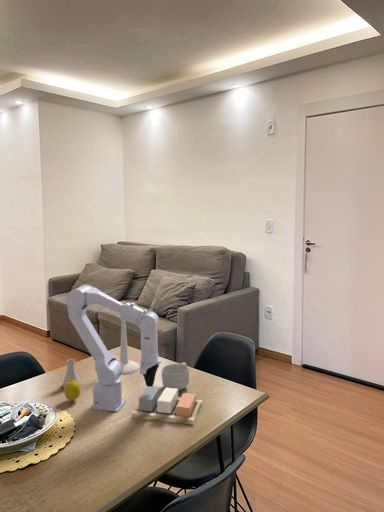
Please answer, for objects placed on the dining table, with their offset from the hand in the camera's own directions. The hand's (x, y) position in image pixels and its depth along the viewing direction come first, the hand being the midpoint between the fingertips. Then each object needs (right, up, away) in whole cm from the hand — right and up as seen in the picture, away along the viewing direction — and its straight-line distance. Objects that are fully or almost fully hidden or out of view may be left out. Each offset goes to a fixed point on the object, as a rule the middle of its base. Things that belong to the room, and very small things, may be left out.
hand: (149, 385), depth 141 cm
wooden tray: (+6, -9, 0) cm, 11 cm away
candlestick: (-15, -4, +36) cm, 39 cm away
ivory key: (+6, -7, -1) cm, 9 cm away
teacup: (+9, -6, +18) cm, 21 cm away
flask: (-33, -6, +20) cm, 39 cm away
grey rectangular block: (0, -7, +1) cm, 7 cm away
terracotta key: (+13, -8, -2) cm, 15 cm away
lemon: (-29, -8, +6) cm, 30 cm away
